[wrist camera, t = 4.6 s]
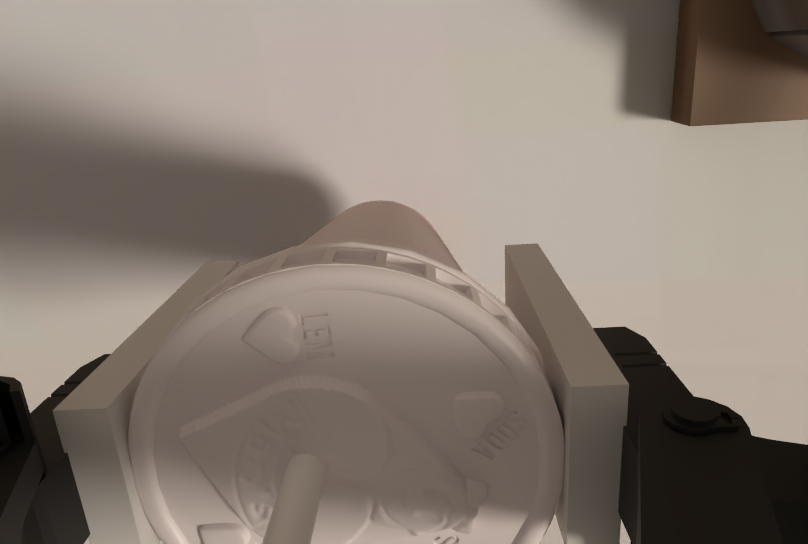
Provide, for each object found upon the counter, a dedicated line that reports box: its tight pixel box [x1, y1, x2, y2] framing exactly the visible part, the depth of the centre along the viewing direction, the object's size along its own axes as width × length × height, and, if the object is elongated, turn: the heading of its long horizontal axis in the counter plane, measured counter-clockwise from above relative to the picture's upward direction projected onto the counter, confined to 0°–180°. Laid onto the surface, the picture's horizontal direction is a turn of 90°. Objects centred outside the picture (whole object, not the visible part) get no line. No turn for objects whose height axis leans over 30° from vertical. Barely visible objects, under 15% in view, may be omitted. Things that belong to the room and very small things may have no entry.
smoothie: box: [128, 201, 565, 544], centre depth 11 cm, size 6×6×14 cm
